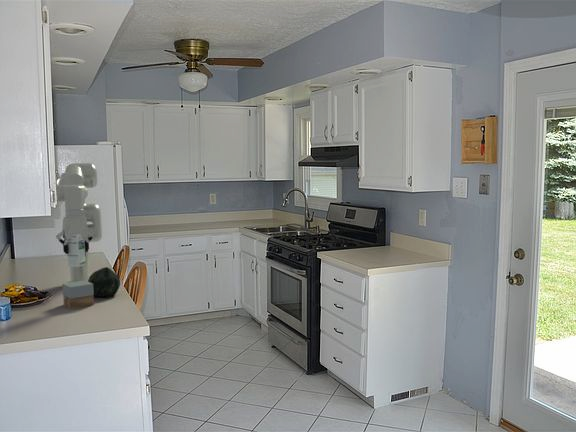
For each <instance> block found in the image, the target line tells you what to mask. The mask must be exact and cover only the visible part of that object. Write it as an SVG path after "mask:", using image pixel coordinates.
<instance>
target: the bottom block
mask: <svg viewBox="0 0 576 432" xmlns="http://www.w3.org/2000/svg"><path fill="white" fill-rule="evenodd" d="M62 295H63V294H62ZM62 298H63V306H64V307H66V306H67V307H66V308H68V309H69V310H75V309H80V308H86V307H92V305H93V306H95V301H94V296H93V295H89V296H84V297H78V298H72V299H71V298H69V297H67V296H65V295H63V297H62Z"/></svg>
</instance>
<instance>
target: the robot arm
mask: <svg viewBox="0 0 576 432" xmlns="http://www.w3.org/2000/svg"><path fill="white" fill-rule="evenodd" d="M55 182H56V188H57V200H56V201H57V202H60V203H61V202H64V209H65V211H64V212H65V215H64V216H63V218H62V228H61V231H60V232H59V233H58V234H57V235H56V236H55V239H57V241H58V242H59V243H61V244H62V246H63V248H62V249H63V253H64V255H67V254H68V245H67V243H68V241H69V240H70V239H73V234H81V237H82V238H84V239H85V247H86V263H87V264H86V265H83V266H80V267H69V271H70V272H69V273H70V281H67V283H71V282H78V281H84V280H85V281H88V280H89V277H90V276H91V274H90V256H89V254H90V253H89V250H90V246H89V245H90V243H94V242H100V241H101V240H102V237H103V230H102V226H103V225H102V213H101V208H100V206H99V204H97V203H86V199H87V197H88V196H89V195H88V193H89V192H88V191H89V190H88V189H92V188H93V189H94V188H95V187H96V186H97V185H98V170H97V167H96V166H95V164H93V163H90V162H85V163H84V162H80V163H79V162H75V163H69V164H68V165H67V166H66V167H65V171H64V172H63V173H61V175H60V177H59V178H58V179H56V180H55ZM88 222H91V224H89V223H88ZM61 237H62V238H63V239H62V238H61Z"/></svg>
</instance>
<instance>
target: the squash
mask: <svg viewBox="0 0 576 432" xmlns="http://www.w3.org/2000/svg"><path fill="white" fill-rule="evenodd" d="M120 279H121V278H120V276H119V275H118V274H117V273H116V272H115V271H113V270H112V269H111V268H110V267H107V266H106V267H101V268H99V269H98V270H95V271H94V272H92V274H90V277H89V280H88V282H90V283H92V284H93V290H94V295H93V298H94V297H105V298H109V297H113V296H115V295H116V294H117V292H119V289H120V285H121V280H120Z"/></svg>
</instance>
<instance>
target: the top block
mask: <svg viewBox="0 0 576 432" xmlns="http://www.w3.org/2000/svg"><path fill="white" fill-rule="evenodd" d="M62 295H65V296H67V297H69V298H71V299H72V298H78V297H84V296H89V295H94V290H93V284H92V283H90V282H88V281H85V280H84V281H78V282H71V283H68V282H65V283H62Z"/></svg>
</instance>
